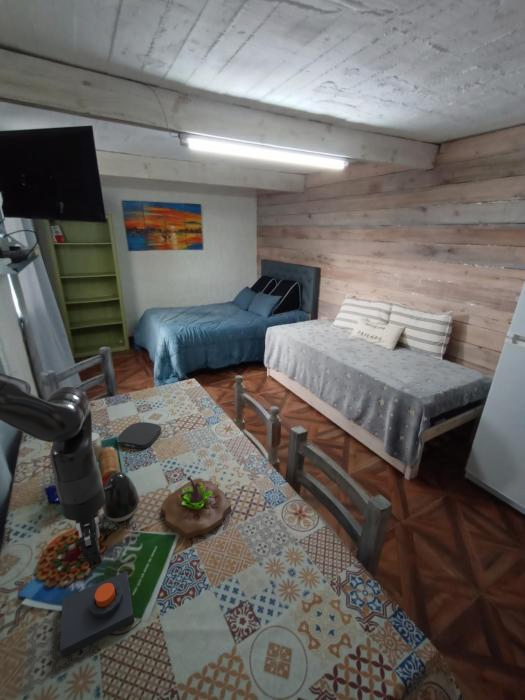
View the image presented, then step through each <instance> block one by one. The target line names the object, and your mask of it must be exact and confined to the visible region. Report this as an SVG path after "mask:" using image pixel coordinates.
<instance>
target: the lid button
mask: <svg viewBox="0 0 525 700" xmlns="http://www.w3.org/2000/svg"><path fill="white" fill-rule="evenodd" d="M114 598H115V589H114V586H113V584H111V583H105V584H103V585H101V586H100V587H99V588H98V589H97V591H96V593H95V600H96V604H97V606H98V607H106V606H108V605H109V604H111V603H112V601H113V600H114Z"/></svg>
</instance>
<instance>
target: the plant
mask: <svg viewBox="0 0 525 700" xmlns="http://www.w3.org/2000/svg"><path fill="white" fill-rule="evenodd" d="M186 480H187V481H188V482H187V483H185V484H183V485H181V486H180V487H179V488H177V489H175V490H174V491H173V492H172V493H170V494H168V495H167V497H166V498H165V499H164V501H163V502H162V506H161V507H160V514H161V515H162V516H164V523H165V525H166V527H168V528H170V529H171V530H173V531H174V532H176V533H177V534H179V535H180V536H182V537H183V538H185V539H187V540H190V539H192V538H194V537H198V536H204V535H206V534H208V533H211V532H212V531H213V530H214V529H216V528H217V527H219V526H220V525H221V524H222V523H223V520H224V518H225V517H226V516H227V515H228V514H229V513H230V512H231V511H232V505H231V502H230V500H229V499H228V497H227V496H226V494H225V492H224V491H223V490H222V489H220V488H219V484H216V483H214V482H213V481H212V480H211V479H210V480H203V478H194V479H192V477H191V476H189V475H188V476H187V478H186Z"/></svg>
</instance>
